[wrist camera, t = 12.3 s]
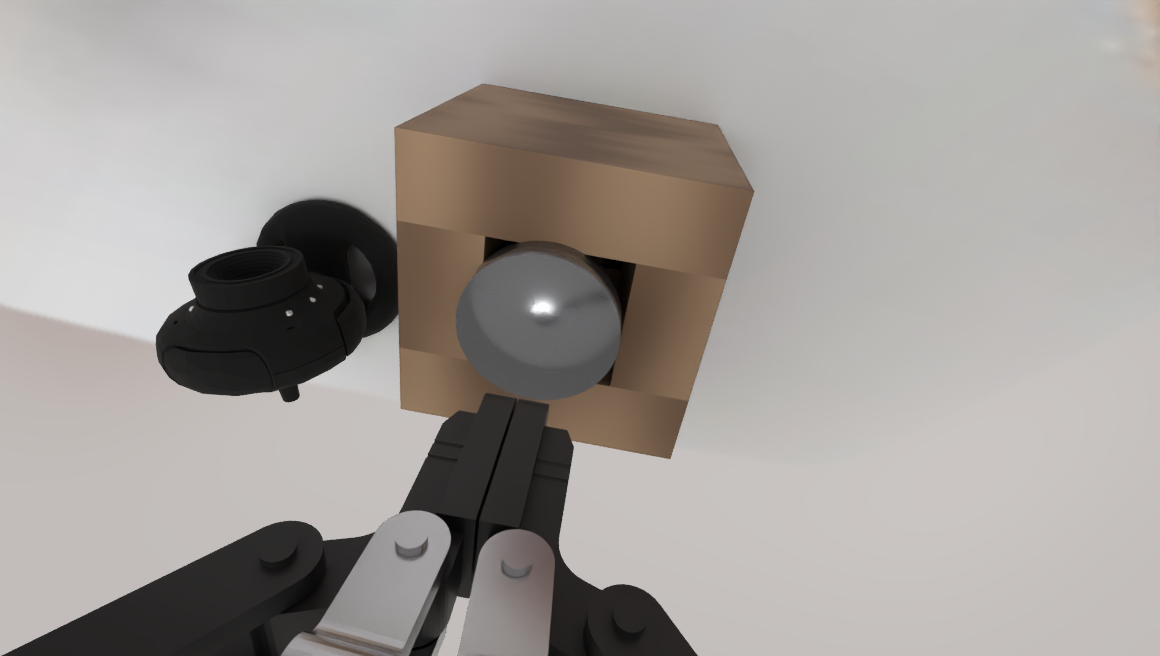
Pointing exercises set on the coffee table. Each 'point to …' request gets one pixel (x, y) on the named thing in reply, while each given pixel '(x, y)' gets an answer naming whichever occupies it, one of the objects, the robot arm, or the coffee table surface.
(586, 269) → the pin
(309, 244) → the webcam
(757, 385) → the coffee table surface
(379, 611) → the robot arm
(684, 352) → the block
